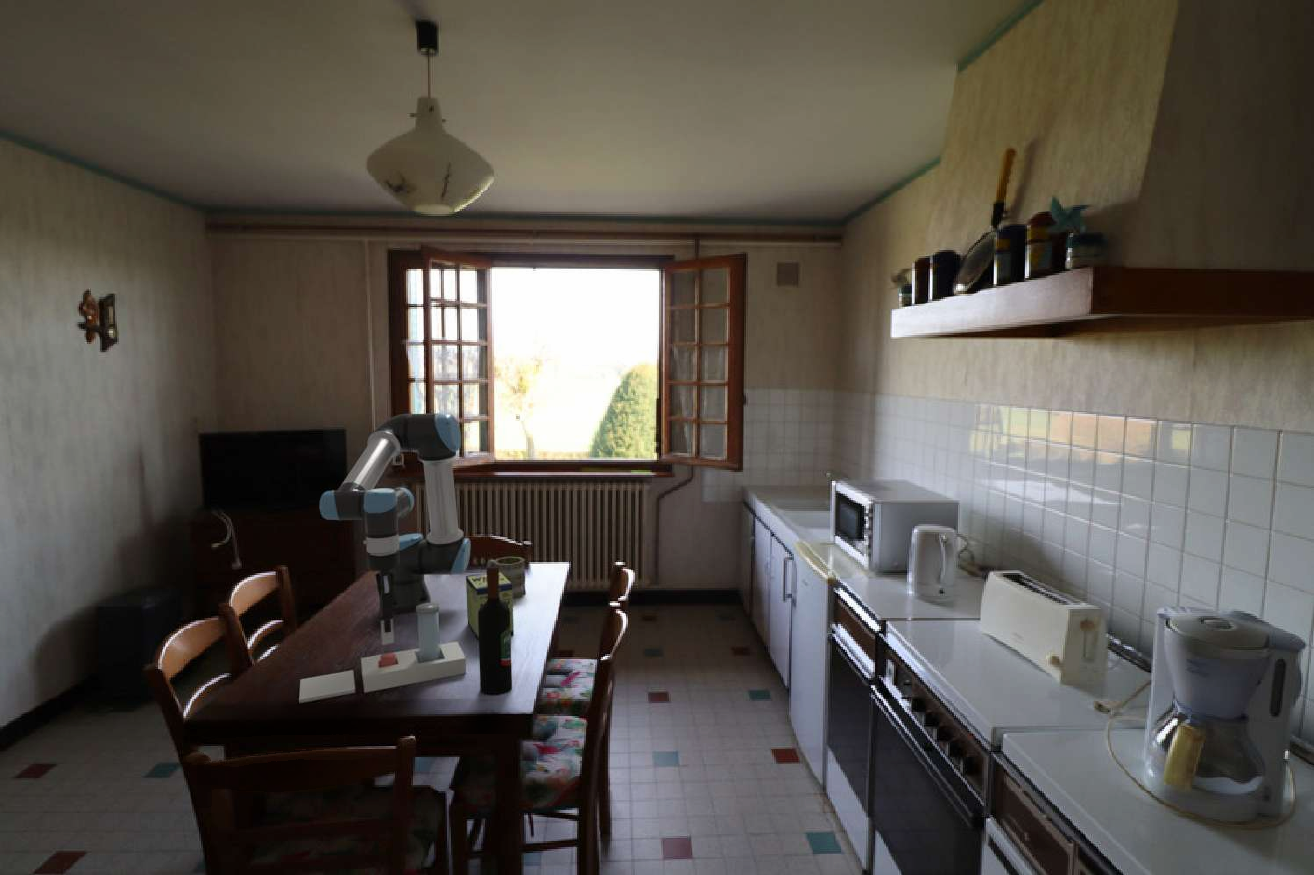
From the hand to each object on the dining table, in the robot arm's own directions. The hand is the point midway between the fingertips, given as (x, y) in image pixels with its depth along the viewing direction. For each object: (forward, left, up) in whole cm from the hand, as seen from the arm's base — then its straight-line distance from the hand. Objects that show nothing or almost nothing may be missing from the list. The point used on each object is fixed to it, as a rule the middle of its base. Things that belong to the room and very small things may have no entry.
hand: (388, 642), depth 174 cm
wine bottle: (+18, +23, -9) cm, 31 cm away
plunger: (0, 0, -8) cm, 8 cm away
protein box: (-21, +30, -9) cm, 37 cm away
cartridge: (0, +10, -9) cm, 13 cm away
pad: (-1, -14, -9) cm, 17 cm away
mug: (-53, +42, -9) cm, 68 cm away
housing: (0, +6, -9) cm, 11 cm away
